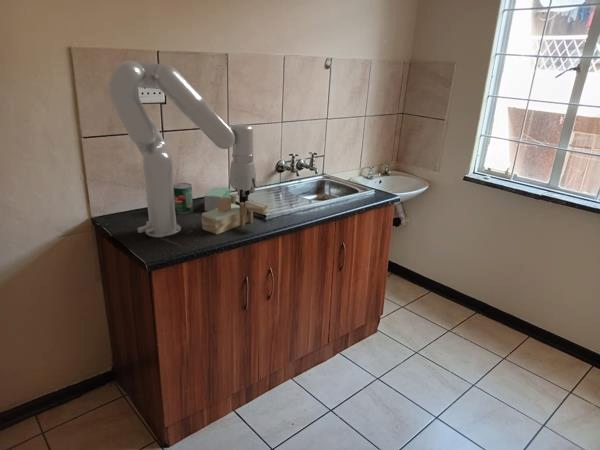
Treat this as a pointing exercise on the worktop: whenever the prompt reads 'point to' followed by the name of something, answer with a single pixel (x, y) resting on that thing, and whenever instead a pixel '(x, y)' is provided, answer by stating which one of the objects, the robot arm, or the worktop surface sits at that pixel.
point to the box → (215, 197)
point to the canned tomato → (183, 198)
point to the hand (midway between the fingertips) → (243, 205)
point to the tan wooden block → (256, 207)
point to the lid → (223, 209)
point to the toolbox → (228, 219)
